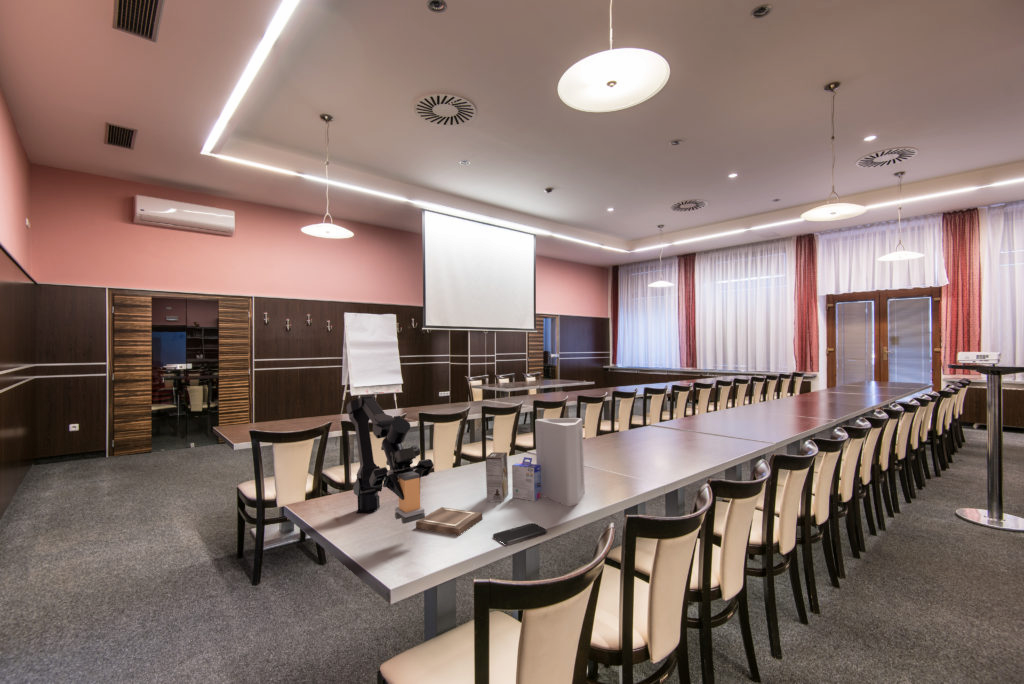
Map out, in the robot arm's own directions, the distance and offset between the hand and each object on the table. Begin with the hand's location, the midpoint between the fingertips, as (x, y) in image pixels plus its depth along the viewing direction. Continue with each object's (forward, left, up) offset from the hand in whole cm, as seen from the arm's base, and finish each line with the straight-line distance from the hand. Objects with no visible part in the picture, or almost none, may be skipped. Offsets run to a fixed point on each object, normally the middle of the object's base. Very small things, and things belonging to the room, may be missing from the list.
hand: (411, 497), depth 131 cm
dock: (+8, +14, -13) cm, 21 cm away
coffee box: (+21, +39, -13) cm, 46 cm away
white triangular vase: (+47, +41, -13) cm, 64 cm away
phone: (+31, +5, -14) cm, 34 cm away
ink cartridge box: (+32, +39, -13) cm, 52 cm away
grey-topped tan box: (-1, +1, -7) cm, 7 cm away
